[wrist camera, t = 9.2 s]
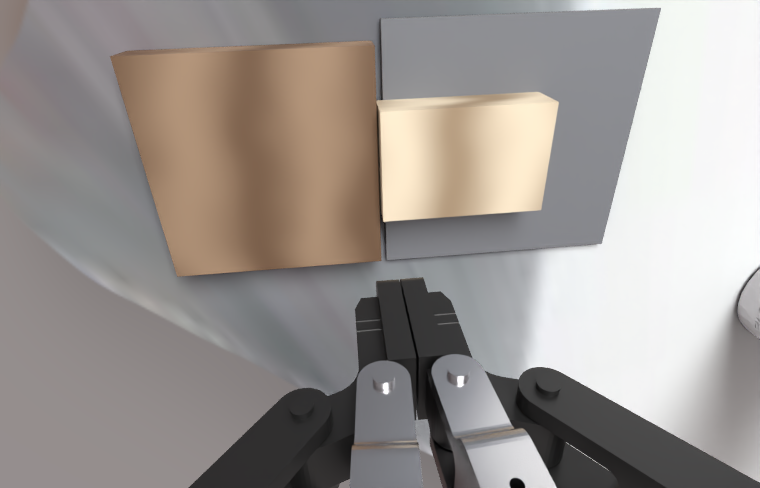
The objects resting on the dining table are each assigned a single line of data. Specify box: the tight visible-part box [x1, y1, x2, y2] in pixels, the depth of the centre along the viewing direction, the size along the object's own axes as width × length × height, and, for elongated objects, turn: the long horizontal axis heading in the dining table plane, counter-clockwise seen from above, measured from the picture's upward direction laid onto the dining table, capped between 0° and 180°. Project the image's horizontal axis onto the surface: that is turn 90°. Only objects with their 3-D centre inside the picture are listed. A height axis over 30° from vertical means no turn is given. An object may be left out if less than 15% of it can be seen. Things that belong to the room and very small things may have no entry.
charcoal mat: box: [380, 8, 661, 260], centre depth 26 cm, size 14×14×1 cm
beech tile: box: [376, 92, 559, 222], centre depth 25 cm, size 9×6×2 cm, turn 92°
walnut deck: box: [110, 41, 381, 277], centre depth 25 cm, size 12×12×2 cm
